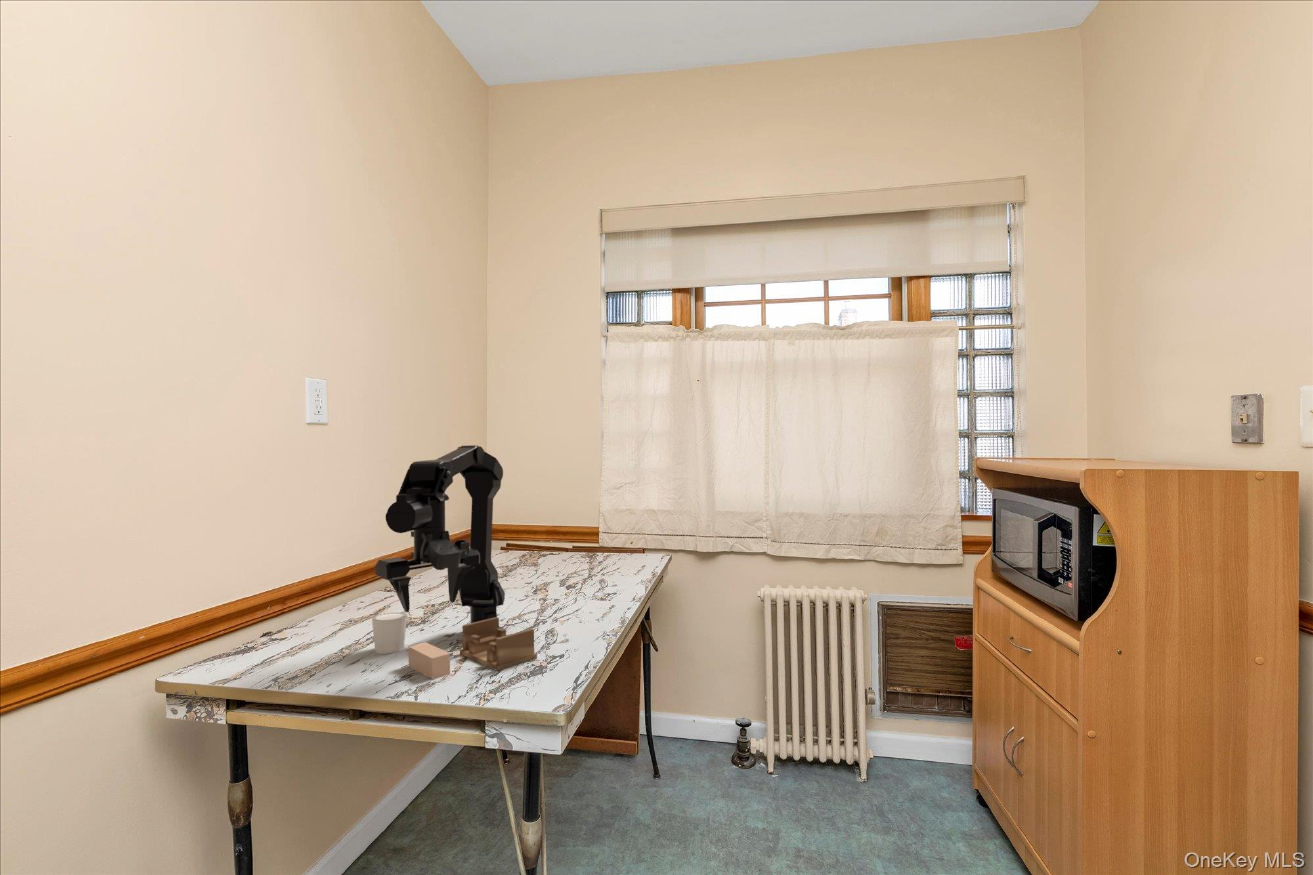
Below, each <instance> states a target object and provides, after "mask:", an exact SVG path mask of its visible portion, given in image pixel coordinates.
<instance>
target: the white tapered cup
mask: <svg viewBox="0 0 1313 875" xmlns="http://www.w3.org/2000/svg"><path fill="white" fill-rule="evenodd" d="M407 618H408V614H406V612H405V613H404V612H388V613H383V614H379V615H376V616H373V617H372V618H371V623H372V632H373V633H372V634H373V642H374V650H375V653H376V654H382V655H384V654H394V653H397V652H400V651H402V650H404V648H405V643H406V642H405V640H406V628H407Z"/></svg>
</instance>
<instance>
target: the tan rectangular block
mask: <svg viewBox="0 0 1313 875" xmlns="http://www.w3.org/2000/svg"><path fill="white" fill-rule="evenodd" d="M408 667H409V668H411V669H413V670H415V671H417V672H419V673H420V674H422V675H423V676H424V675H425V676H426V677H428V678H430V679H432V680H433V679H437V678H440V677H444V676H448V675H450V674H451V653H449V652H447V651H446V650H443V649H441V648H439V647H438V646H436V645H432V644H431V643H428V642H422V643H418V644H417V643H416V644H414V645H410V646H409V645H408Z"/></svg>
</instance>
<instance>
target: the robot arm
mask: <svg viewBox="0 0 1313 875" xmlns="http://www.w3.org/2000/svg"><path fill="white" fill-rule="evenodd" d="M458 474H460V475H461V476H462V478H463V479H464V485H465V489H466V491H467V493H468V494H469V495H470V497H471V513H470V514H471V515H470V516H471V517H470V541H469V540H468V539H466V538H464V539H462V538H461V539H456V541H451V538H450V532H449V530H446V501H449V500H450V497H449V495H448V494H447V493H446V491H447V490H448V488H449V487H450V486H451V485H452V483H454V478H453V477H454V476H456V475H458ZM503 478H504V469H503V466H502V465H501V462H499V460H498V458H496V457H495V456H493V455H491V454H490V453H488V452H487V451H485V450H484V448H483V447H482V446H479V445H473V444H472V445H469V444H468V445H460V446H458V447H457V449H455V450H453V451H450V452H448V453H446V454H445V455H443V456H441V457H438V458H437V459H428V460H418V461H413V462H412V463H411V464H410V465H409V467H408V469H407V470H406V473H405V476H404V478H403V481H402V483H401V487H400V488H399V491H398V494H396V496H395V501H394V502H393V503H391V505H390V506H389V507H388V508H387V511H386V513H385V522H386V525H387V526H388V528H389V529H390V530H391V531H393V532H394V533H397V534H404V533H408V532H410V537H411V538H413V552H412V551H411V552H410V558H411V559H409V560H408V559H404V558H402V557H401V558H400V557H391V558H390V557H389V558H383V559H378V561H377V562H376V564H375V569H374V573H375V574H374V575H375V576H377V577H380V578H382V579H383V580H386V581H389V583H390V585H391V587H392V588H393V590H394V591H395V593H396V595H397V597H398V600H399V602H400V604H401V605H402V609H403V610H404V612H405V613H409V612H410V607H411V606H410V605H411V604H410V589H409V588H410V587H409V586H410V583H411V579H412V578H411V576H408V574H409V572H410V571H412V570H418V569H419V570H420V569H424V568H430V567H433V568H434V569H435V570H437V571H443V570H445V569H447V583H448V584H447V585H448V586H447V587H448V598H449V602H450V603H455V602H456V599H457V597H458V593H459V597H460V602H461V606H462V607H470V616H469V618H470V622H469V623H474V622H478V621H482V620H486V619H490V618H495V617H498V612H497V611H498V610H497V608H498V607H499V606H503V605H504V603H505V599H506V598H505V596H506V594H505V593H506V592H505V590H504V588H503V587H502V585H501V583H500V581H499V574H498V573H499V572H498V570H497V568H496V567H495V565H494V563H493V562H492V544H493V543H492V542H493V541H492V540H493V515H494V514H493V512H494V510H493V508H494V499H495V497H496V495H497V494H498V492H499V490H500V489H501V486H502V485H501V484H502V480H503ZM499 628H502V629H504V628H503V627H502V626H499Z"/></svg>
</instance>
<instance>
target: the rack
mask: <svg viewBox="0 0 1313 875" xmlns="http://www.w3.org/2000/svg"><path fill="white" fill-rule="evenodd" d="M499 627H500V618H499V617H498V616H497V617H495V618H490V619H486V620H482V621H478V622H474V623H471V622H469V623H467V624H463V625H462V649H459V654H460V655H462V656H464V657H466V658H469V659H470V660H473V661H475V662H478V663H480V664H482V665H485V666H487V667H488V668H491V669H494V670H495V671H497V672H498V671H500V670H505V669H508V668H510V667H513V666H517V665H520V664H523V663H525V662H530V661H533V660H536V659H538V654H537V653H535V629H533V628H529V629H525V630H522V631H518V632H514V633H510V634H507V630H506V629H504V628H503V627H502V628H503V629H502V628H499Z"/></svg>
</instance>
